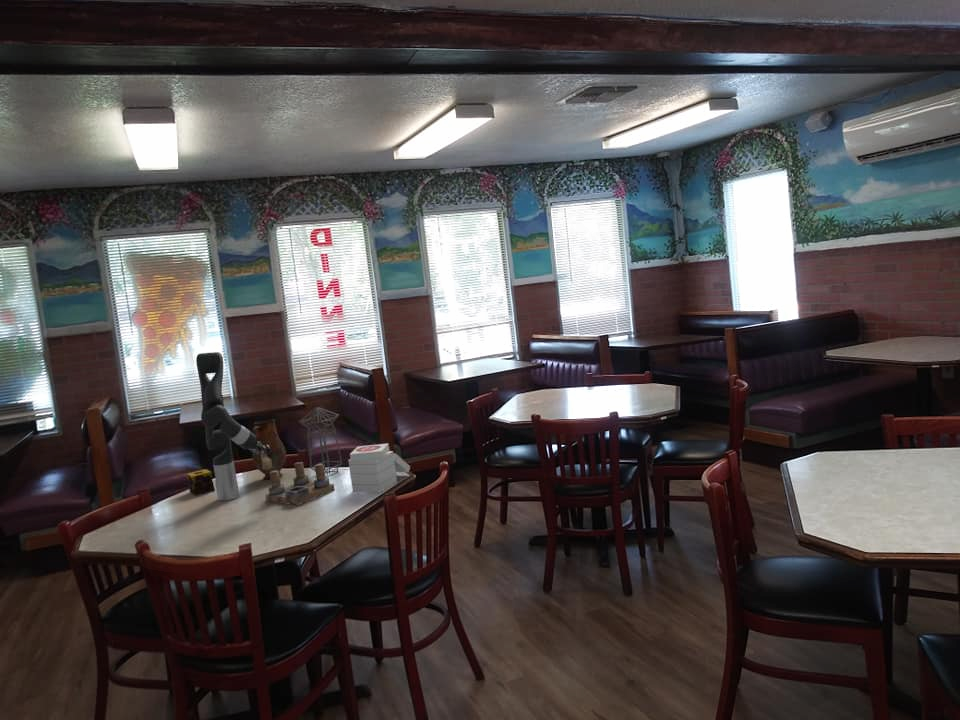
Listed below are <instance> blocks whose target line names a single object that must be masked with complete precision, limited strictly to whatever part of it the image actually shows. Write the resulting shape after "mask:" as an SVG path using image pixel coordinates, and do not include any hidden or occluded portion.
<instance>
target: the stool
mask: <svg viewBox="0 0 960 720" xmlns="http://www.w3.org/2000/svg"><path fill="white" fill-rule="evenodd" d="M324 465H325V464H324ZM324 465H323V463H322V464H319V463H317V464H314V466H315V467H314V469H315V471H314V472H315V477H316V479H313V481H310V478H309V475H306V473H305V467H304V462H303V461H300V462H296V463H294V471H295V477H293V484H291V485H287V486H285V484H282V483H281V478H280V477H279V471H271V472H270V479H271V480H270V485H271V486H269V487H268V493H267V494H265V501H266V500H267V501H266V502H270V501H274V502H273V503H277V502H281V503H280V504H284V503H289V504H288V505H291V504H296V505H295V506H299V505H298V504H300V503H302V504H304V503H303V502H305V501H307V500H310V499H312V500H314V499H313V498H315V497H317V498H319V497H318V496H320V497H322V496H324V495H323V494H325V495H327V494H329V492H330V493H331V491H332V492H333V491H335V484H334V483H330V478H329V477H327V476H326V473H325V471H324ZM326 493H327V494H326ZM321 495H322V496H321ZM315 499H316V498H315ZM310 501H311V500H310ZM307 502H308V501H307ZM305 503H306V502H305ZM300 505H301V504H300Z"/></svg>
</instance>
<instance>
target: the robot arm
mask: <svg viewBox="0 0 960 720" xmlns="http://www.w3.org/2000/svg"><path fill="white" fill-rule="evenodd" d="M195 359H196V360H195V361H196V369H197V374H198V379H199V384H200V385H199V386H200V394H201V395H200V397H201V405H202V409H201V414H200V415H201V416H200V418H201V419H200V420H201V423H202V424H203V425H204V427H205V428H204V430H205V444H206V447H207V449H208V451H218V450H219V451H220V450H223V449H224V450H223V451H222V452H221V453H220V454H218V455H216V456H215V457H214V458H213V459H212V465H213V471H214V476H215V480H214V481H215V488H216V489H215V490H216V495H217V499H218V500H219V501H221V502H222V501H223V502H224V501H230V500H231V499H232V500H235V499H237V498H239V497H240V493H239V485H238V479H237V474H236V473H237V472H236V468H235V462H234V461H235V460H234V456H233V449H232V448H233V447H232V442H234V443H235V444H236V445H238V446H239V447H240V448H241V449H243V450H248V451H250V452H251V453H252V454H253V453H254V454H256V453H257V454H258V455H259V454H260V455H261V453H263V454H265V455H266V456H268V457H269V458H270V459H273V458H274V454H273V453H271V452H270V451H271V449H270V448H269V447H268V446H267V445H266V444H263V445H262V444H261V443H260V442H259V441H256V435H254V434H253V433H252V431H250V430H249V429H248V428H246V427H245V426H244V425H241V424H240V423H239V422H237V421H236V420H235V419H234V418H233V416H231V415H230V413H229V412H228V410H227V408H226V407H225V403H224V396H223V392H222V391H223V390H222V389H223V388H222V387H223V380H224V379H223V378H224V358H223V355H222V353H221V352H217V351H215V352H214V351H213V352H202V353H198V354H197V356H196V358H195ZM208 374H214V375H213V377H212V378H211V380H210V378H209V377H208ZM221 422H222V423H221ZM220 423H221V424H220ZM219 424H220V427H219V429H216V430H214V429H215V426H217V425H219ZM260 450H261V451H260Z"/></svg>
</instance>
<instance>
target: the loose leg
mask: <svg viewBox="0 0 960 720" xmlns="http://www.w3.org/2000/svg"><path fill="white" fill-rule="evenodd" d="M267 446H268V447H269V445H267ZM260 451H261V450H260ZM261 459H262V466H263V469H270V468H272V462H271V459H270V458H269V457H268V456H266V455H265V454H263V453H261Z"/></svg>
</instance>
